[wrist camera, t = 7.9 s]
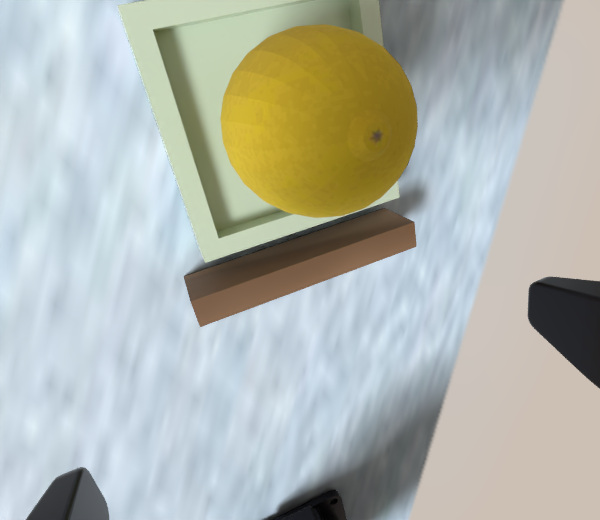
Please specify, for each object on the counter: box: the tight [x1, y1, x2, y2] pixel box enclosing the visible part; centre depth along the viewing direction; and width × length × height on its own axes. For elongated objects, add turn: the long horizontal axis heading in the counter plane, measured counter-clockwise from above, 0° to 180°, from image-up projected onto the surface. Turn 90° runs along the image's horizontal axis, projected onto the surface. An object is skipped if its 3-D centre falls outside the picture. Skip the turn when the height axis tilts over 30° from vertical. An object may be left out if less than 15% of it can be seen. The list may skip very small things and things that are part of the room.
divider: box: [184, 208, 416, 327], centre depth 19 cm, size 1×10×2 cm, turn 103°
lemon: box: [220, 24, 418, 218], centre depth 13 cm, size 6×6×8 cm
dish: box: [118, 0, 400, 263], centre depth 17 cm, size 9×9×2 cm
